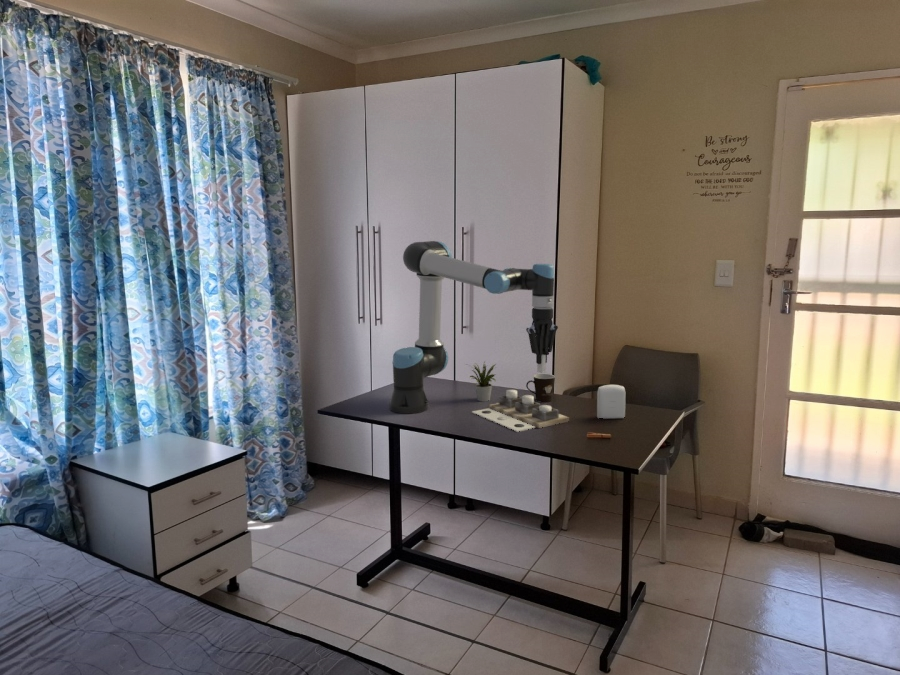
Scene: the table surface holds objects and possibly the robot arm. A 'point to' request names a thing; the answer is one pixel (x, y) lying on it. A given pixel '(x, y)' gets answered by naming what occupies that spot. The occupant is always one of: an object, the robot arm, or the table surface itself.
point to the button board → (528, 412)
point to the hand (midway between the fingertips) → (541, 372)
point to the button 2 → (545, 408)
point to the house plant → (483, 383)
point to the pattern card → (503, 419)
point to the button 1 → (511, 394)
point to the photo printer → (611, 401)
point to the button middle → (527, 400)
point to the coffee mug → (543, 387)
